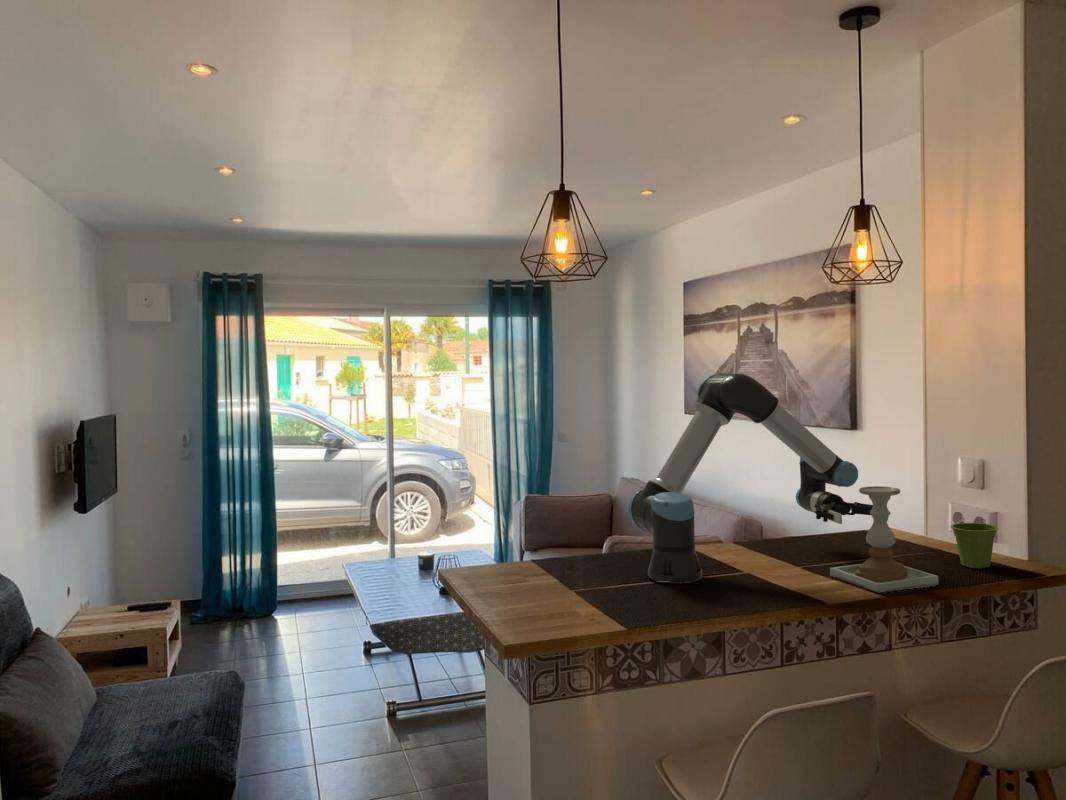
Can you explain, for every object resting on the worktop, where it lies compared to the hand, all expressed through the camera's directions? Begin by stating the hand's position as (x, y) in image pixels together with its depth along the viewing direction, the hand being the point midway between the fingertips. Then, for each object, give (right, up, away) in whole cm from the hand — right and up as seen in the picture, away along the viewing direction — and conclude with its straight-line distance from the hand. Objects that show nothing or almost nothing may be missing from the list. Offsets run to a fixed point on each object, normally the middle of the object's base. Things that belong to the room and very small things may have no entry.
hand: (863, 517), depth 231 cm
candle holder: (+1, -15, -8) cm, 17 cm away
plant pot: (+33, -14, +3) cm, 36 cm away
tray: (+2, -16, -8) cm, 18 cm away
